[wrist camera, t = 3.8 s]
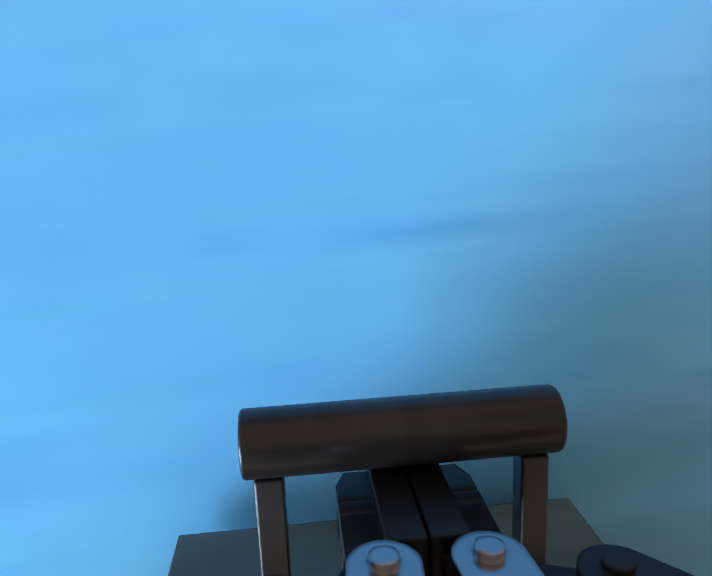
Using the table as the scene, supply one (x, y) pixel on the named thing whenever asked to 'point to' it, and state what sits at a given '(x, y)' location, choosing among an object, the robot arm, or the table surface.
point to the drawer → (383, 450)
